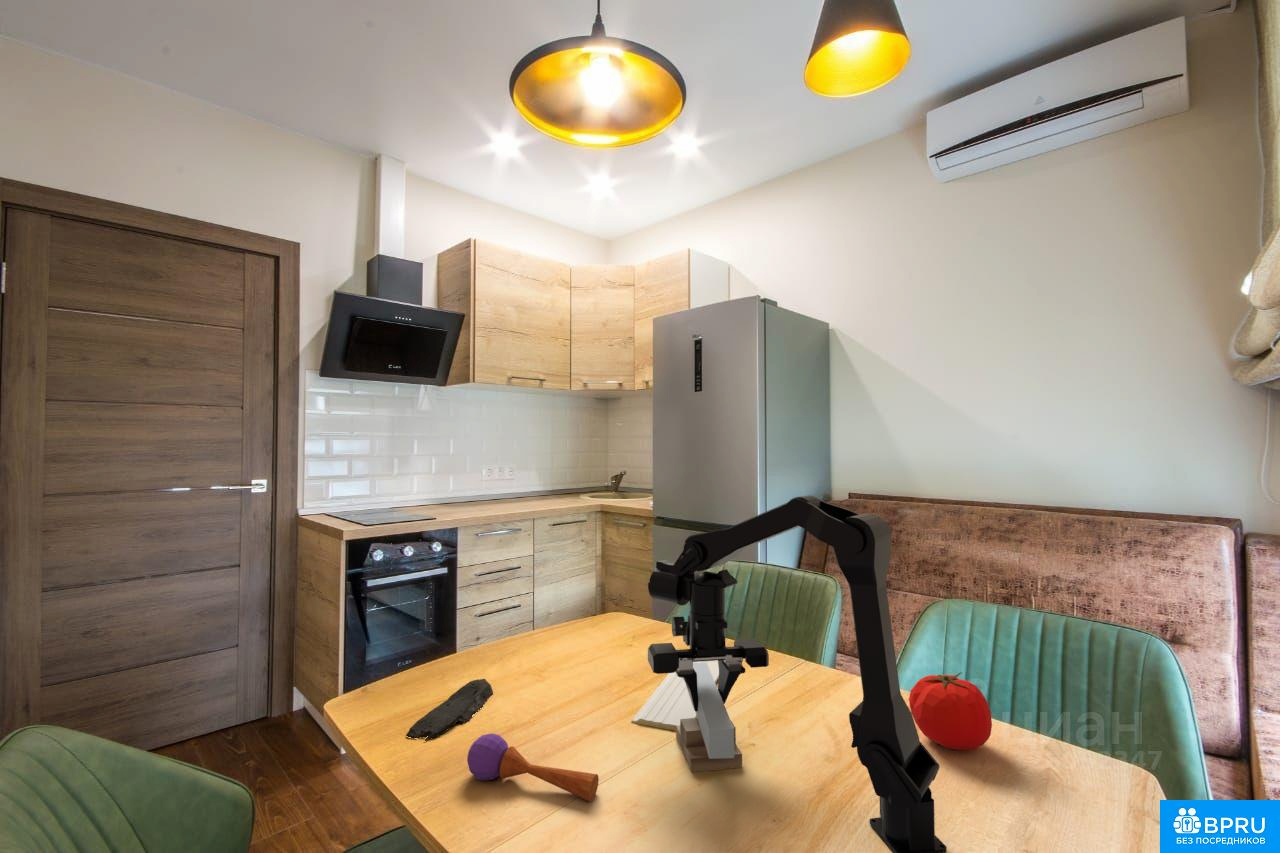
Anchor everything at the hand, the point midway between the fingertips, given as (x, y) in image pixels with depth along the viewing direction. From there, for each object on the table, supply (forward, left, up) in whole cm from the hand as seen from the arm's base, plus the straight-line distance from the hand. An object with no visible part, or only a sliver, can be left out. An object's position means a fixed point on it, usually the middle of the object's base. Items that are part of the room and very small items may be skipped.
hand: (707, 709), depth 89 cm
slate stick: (0, 0, -1) cm, 1 cm away
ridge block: (0, 0, -7) cm, 7 cm away
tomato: (-4, -40, -7) cm, 41 cm away
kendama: (-4, +28, -7) cm, 29 cm away
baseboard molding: (+23, -1, -8) cm, 24 cm away
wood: (+21, +42, -7) cm, 47 cm away
